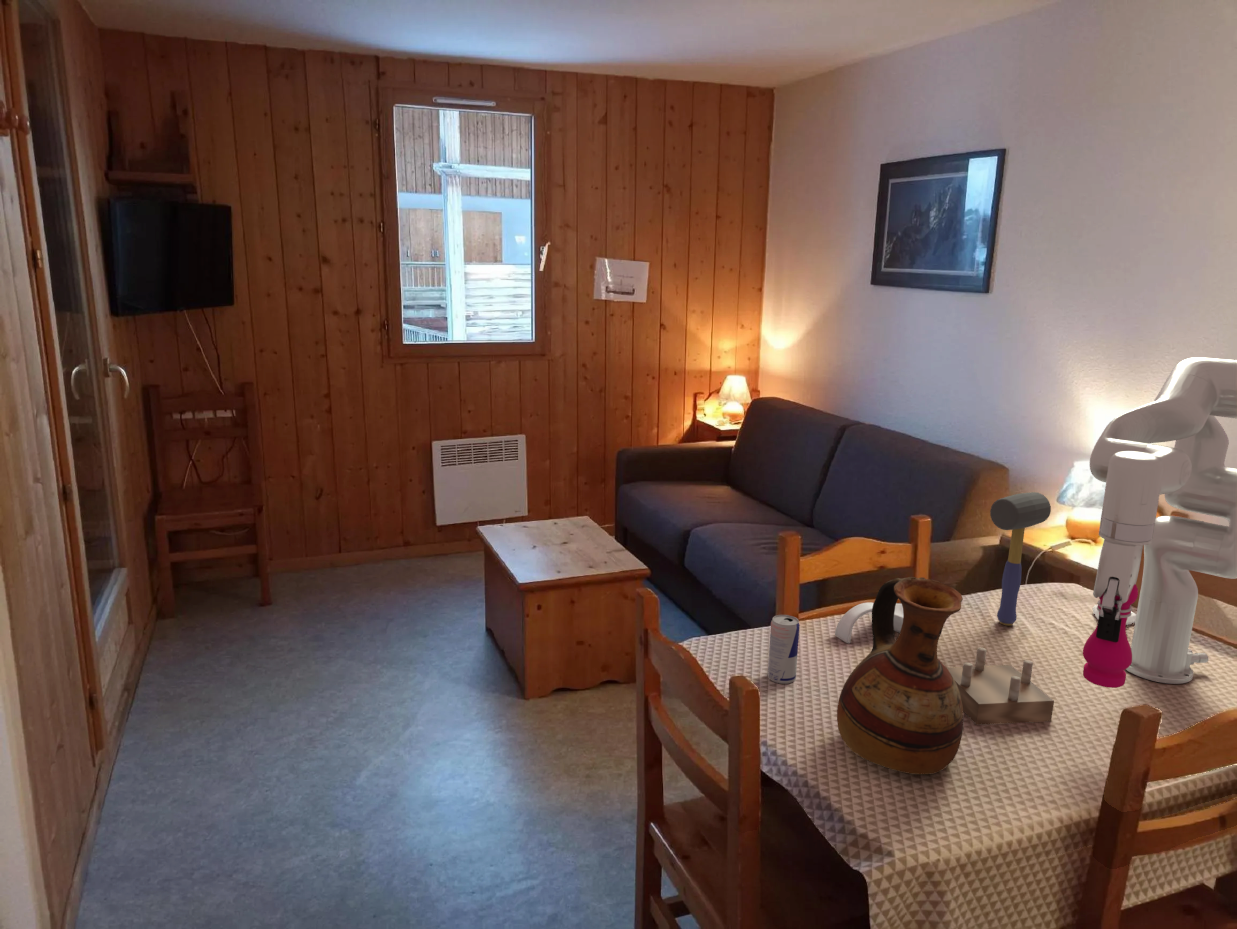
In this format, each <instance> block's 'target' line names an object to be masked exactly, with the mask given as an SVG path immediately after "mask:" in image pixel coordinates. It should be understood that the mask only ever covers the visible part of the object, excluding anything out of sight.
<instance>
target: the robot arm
mask: <svg viewBox="0 0 1237 929" xmlns="http://www.w3.org/2000/svg"><path fill="white" fill-rule="evenodd" d="M1216 417H1220V418H1228V419H1229V418H1231V419H1237V359H1235V360H1234V359H1225V358H1216V357H1215V358H1213V357H1189V358H1185V359H1183V360H1181V361H1180V362H1178V363H1177V364H1175V366H1174V367H1173V368H1172V370H1171V371H1170V373H1169V375H1168V376H1167V378H1166V380H1165V381H1164V383H1163V385H1162V387H1161V388H1160V390H1159V392H1158V394H1157V395H1156V397H1155V399H1154V400H1153V401H1152V402H1149V403H1146V404H1144V405H1141V406H1138V407H1135V408H1133V409H1130V410H1129V411H1127V412H1124V413H1122V414H1121V415H1118V416H1117V417H1115V418H1113V419H1112V420H1111V421H1110V422H1109V423H1108V424H1107V425H1106V427H1104V429H1103V431H1102V433H1101V435H1100V436H1099V437H1098V439H1097V440H1096V443H1095V445H1094V446H1093V449H1092V452H1091V454H1090V457H1089V471H1090V473H1091V474H1092V476H1093V477H1094V478H1095V479H1096V480H1097V481H1099V482H1103V483H1105V488H1104V495H1103V502H1102V508H1101V509H1102V510H1101V514H1100V522H1099V529H1098V536H1099V537H1100V538H1101V539H1104V540H1103V543H1102V547H1101V551H1100V556H1099V560H1098V566H1097V571H1096V576H1095V582H1094V587H1093V592H1092V595H1093V597H1094V598H1095V599H1099V597H1101V596H1102V594H1103V593H1104V596H1103V601H1102V606H1101V612H1100V614H1099V619H1097V620H1098V621H1097V624H1098V626H1097V625H1096V627H1097V633H1096V637H1097V638H1099V639H1103V640H1107V641H1111V642H1118V640H1119V634H1120V628H1121V621H1122V619H1120V615H1121V610H1122V604H1123V603H1125V602H1127V601H1128V599H1129V596H1130V594H1131V591H1132V589H1133V586H1134V585H1135V584H1136V585H1137V580H1138V577H1139V571H1140V566H1141V562H1142V554H1144V555H1143V557H1144V558H1143V571H1142V580H1141V584H1140V592H1139V598H1138V603H1137V609H1136V614H1137V615H1136V621H1135V623H1134V628H1133V634H1132V640H1131V644H1130V647H1131V651H1132V663H1131V665H1130V666H1129V667H1128V668H1127V669H1125V671H1127V672H1129V673H1131V674H1132V675H1133V676H1134V675H1135V676H1137V677H1140V678H1142V679H1145V680H1149V681H1151V682H1152V681H1153V682H1157V683H1161V684H1172V685H1176V684H1177V685H1180V684H1186V683H1188V682H1190V681H1192V680H1193V679H1194V678H1193V676H1194V671H1193V669H1192V668H1191V665H1194V664H1195V663H1196V664H1203V663H1204V664H1206V663H1208V662H1209V655H1208V654H1207V653H1205V652H1195V653H1193V650H1192V649H1190V648H1189V646H1190V640H1191V636H1192V635H1191V634H1192V631H1193V626H1194V625H1193V624H1194V620H1195V619H1194V618H1195V616H1196V615H1195V613H1196V609H1197V603H1198V598H1199V589H1198V585H1197V583H1196V581H1195V580H1194V578H1193V577H1194V576H1192V574H1191V572H1190V571H1192V572H1198V573H1202V574H1206V575H1210V576H1211V575H1212V576H1216V577H1220V578H1225V579H1231V580H1233V579H1237V468H1235V467H1234V468H1233V467H1229V466H1228V467H1227V466H1225V461H1226V457H1227V452H1228V448H1229V443H1230V442H1229V437H1228V435H1227V433H1226V430H1225V429H1224V426H1222V424H1221V423H1220V422H1219V420H1218V419H1217V418H1216ZM1173 441H1175V444H1174V447H1172V446H1167V445H1161V444H1159V443H1169V442H1173ZM1156 443H1158V444H1156ZM1160 495H1164V499H1165V502H1166V503H1167V504H1168V505H1169V506H1170V507H1173V508H1175V509H1178V510H1182V511H1186V512H1191V513H1195V514H1200V515H1205V516H1210V517H1215V518H1216V517H1217V518H1222V519H1225V520H1227V522H1228V526H1227V525H1223V524H1217V523H1212V522H1206V521H1203V520H1198V519H1193V518H1188V517H1182V516H1175V515H1161V516H1157V512H1158V505H1159V500H1160ZM1118 586H1119V587H1118ZM1116 596H1119V597H1120V601H1119V600H1115V598H1116ZM1114 604H1118V606H1117V609H1116V607H1114Z"/></svg>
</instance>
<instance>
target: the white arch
mask: <svg viewBox="0 0 1237 929" xmlns="http://www.w3.org/2000/svg"><path fill="white" fill-rule="evenodd" d="M873 604H874V602H862V603H859V604H857V605H854V606H853V607H852V608H850V609H849V610H848V611H847V612H845V613H844V614H843V615H842V616H841V617H840V620H839V621H838V623H837V625H836V627H835V632H834V635H835V637H837V638H838V639H840V640H841V641H842V642H843V643H846V644H851V640H852V633H853V632H852V631H853V628H854V625H855V624H856V622H857V621H858V620H859V619H860V618H861V617H862V616H864V615H866V614H868V613H872V608H873ZM902 624H903V607H902V604H901V603H897V602H896V606H895V612H894V632H895V633H896V632H897V633H899V634H900V631H901V628H902Z"/></svg>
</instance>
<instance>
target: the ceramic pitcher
mask: <svg viewBox="0 0 1237 929" xmlns="http://www.w3.org/2000/svg"><path fill="white" fill-rule="evenodd" d="M898 600H899V601H900V602H899V603H900V604H902V607H903V624H902V628H901V631H900V633H899V634H898V636H897V638H896V637H895V636H896V635H895V631H894V612H895V606H896V603H897V602H898ZM963 600H964V598H963V595H962V593H960V592H959V591H958V590H956V589H955V587H952V586H950V585H948V584H945V583H943V582H940V581H938V580H934V579H932V578H925V577H914V576H908V577H904V578H899V577H896V578H893V579H890V580H889V581H886V582H884V583H883V585H881V586H880V588H879V589H878V592H877V594H876V596H875V599H874V600H873V601H874V602H873V603H874V604H873V608H872V612H871V630H872V649H871V651H870V653H869V654H867V655H866V657H864V658H863V659H862V660H861V661H860V662H859V663H858V664H857V665H856V667H855V668H854V669H853V670H852V671H851V673H850V674H849V675H848V677H847V679H846V680H845V682H844V685H843V686H842V689H841V691H840V694H839V697H838V702H837V708H836V721H837V722H836V723H837V730H838V733H839V734H840V737H841V739H842V741H843V742H844V743H845V745H846V746H847V747H848V748H849V750H851V751H852V752H853V753H855V755H857V756H859V757H861V758H862V759H863V760H866V761H869V762H870V763H873V764H875V765H878V766H880V767H883V768H887V769H890V770H893V771H895V772H896V771H897V772H902V773H906V774H911V775H932V774H936V773H940V772H941V771H943V770H944V769H945V768H946V767H948V766H949V765H950V764H951V763H952V762H953V761H954V760H955V757H956V756H957V754H958V752H959V748H960V746H961V741H962V739H963V738H962V737H963V731H964V720H965V719H964V717H965V716H964V712H963V705H962V701H961V696H960V692H959V689H958V687H957V684H956V682H955V680H954V678H953V677H952V675H951V673H950V672H949V670H948V669H947V668H946V667H947V666H946V665H945V664H944V663H943V662H942V661H941V660H940V659H939V658H938V643H939V640H940V636H941V635H942V632H943V628H944V625H945V623H946V621H947V620H948V618H950V616H952V615H954V614H956V613H957V612H960V611H961V609H962V602H963Z"/></svg>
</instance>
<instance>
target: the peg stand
mask: <svg viewBox="0 0 1237 929" xmlns="http://www.w3.org/2000/svg"><path fill="white" fill-rule="evenodd" d="M975 655H976V656H975V665H974V664H973V663H971V662H963V664H962V665H963V666H945V667H946V668H947V669H948V670H949V672H950V673H951V675H952V677H953V678H954V680H955V682H956V684H957V687H958V689H959V692H960V696H961V701H962V705H963V714H965V715H966V716H967V717H968V718H969V719H970V720H971V721H972V722H973V723H974V725H976V726H980V725H983V726H984V725H998V724H999V725H1001V724H1020V723H1043V722H1052V718H1053V711H1054V704H1055V700H1054V699H1053V698H1052V697H1050V696H1049V695H1048V694H1047V693H1046V692H1044V690H1042V689H1041V688H1040V687H1038V686H1037V685H1036V684H1035V683H1034V682H1033V681H1032V680H1031V679H1032V672H1033V666H1034V661H1032V660H1029V659H1025V660H1023V661H1022V667H1021V668H1022V670H1021V671H1019V670H1018V669H1017V668H1016V667H1015V666H1014V665H1013V664H993V665H991V664H990V665H985V664H986V658H987V657H986V656H987V649H986V648H984V647H980V646H979V647H977V649H976V654H975Z"/></svg>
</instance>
